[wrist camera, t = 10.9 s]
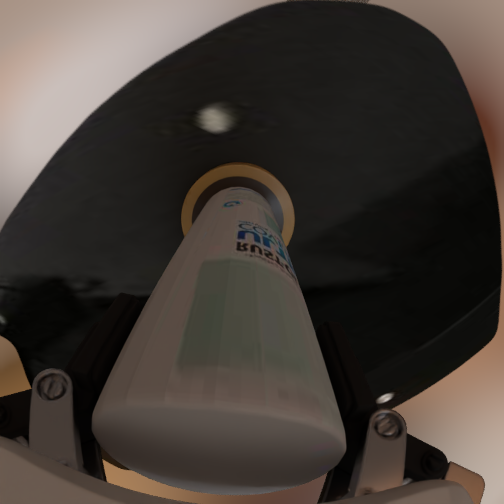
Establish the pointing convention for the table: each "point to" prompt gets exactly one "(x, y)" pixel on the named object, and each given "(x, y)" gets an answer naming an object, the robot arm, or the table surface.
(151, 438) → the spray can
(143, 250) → the table surface
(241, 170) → the stand
